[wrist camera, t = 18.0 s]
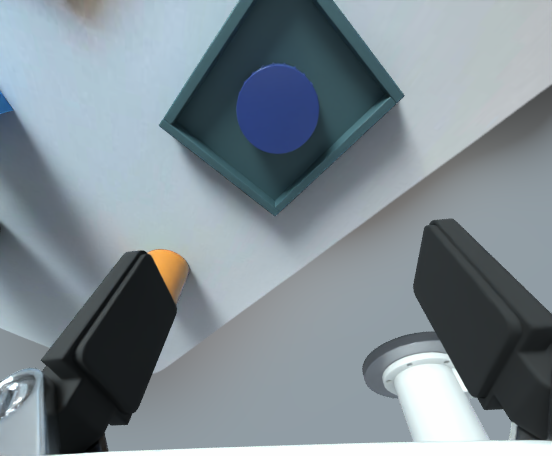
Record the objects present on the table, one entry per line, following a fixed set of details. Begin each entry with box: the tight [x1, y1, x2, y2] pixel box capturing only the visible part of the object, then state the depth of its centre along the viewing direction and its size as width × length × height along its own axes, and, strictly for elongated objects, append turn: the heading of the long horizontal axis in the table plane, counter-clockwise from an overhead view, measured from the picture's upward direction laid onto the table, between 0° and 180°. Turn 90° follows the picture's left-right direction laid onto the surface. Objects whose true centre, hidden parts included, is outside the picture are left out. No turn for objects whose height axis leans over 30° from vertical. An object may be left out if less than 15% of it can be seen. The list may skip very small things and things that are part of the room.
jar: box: [147, 249, 189, 306], centre depth 31 cm, size 6×6×10 cm
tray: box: [159, 0, 404, 216], centre depth 23 cm, size 16×14×2 cm
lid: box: [236, 63, 320, 154], centre depth 23 cm, size 7×7×2 cm
